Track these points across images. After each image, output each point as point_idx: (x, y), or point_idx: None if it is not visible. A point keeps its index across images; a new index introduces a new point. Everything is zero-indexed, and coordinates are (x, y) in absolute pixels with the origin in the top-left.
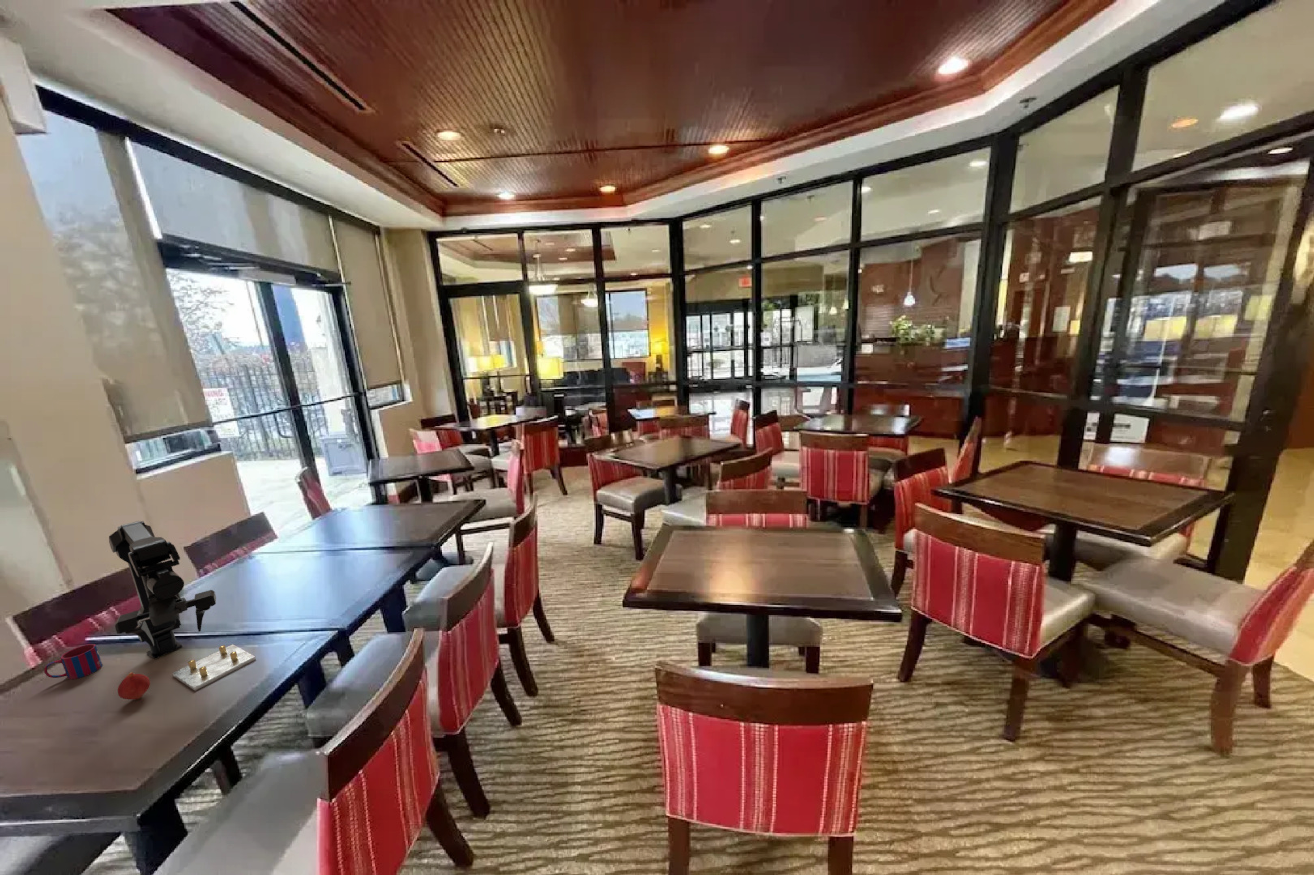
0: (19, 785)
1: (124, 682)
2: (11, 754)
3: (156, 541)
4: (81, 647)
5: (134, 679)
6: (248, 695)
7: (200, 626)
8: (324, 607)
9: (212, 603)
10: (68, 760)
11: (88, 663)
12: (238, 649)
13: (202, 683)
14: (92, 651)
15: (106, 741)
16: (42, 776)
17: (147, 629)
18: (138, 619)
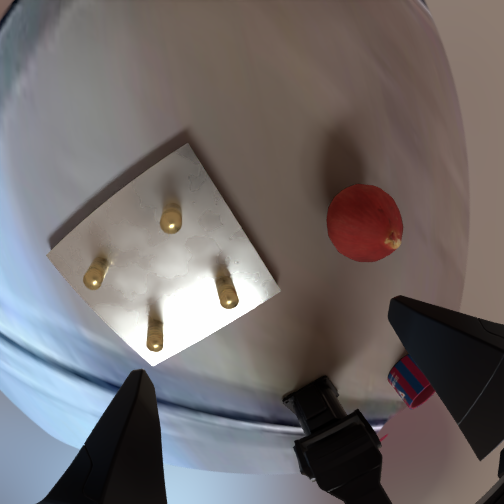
0: (432, 29)
1: (398, 215)
2: (466, 151)
3: None
4: (419, 403)
5: (378, 216)
6: (36, 36)
7: (114, 399)
8: (22, 404)
9: None
10: (397, 32)
11: (411, 373)
12: (119, 330)
13: (165, 158)
14: (413, 393)
15: (355, 38)
16: (414, 21)
17: (464, 398)
18: None
